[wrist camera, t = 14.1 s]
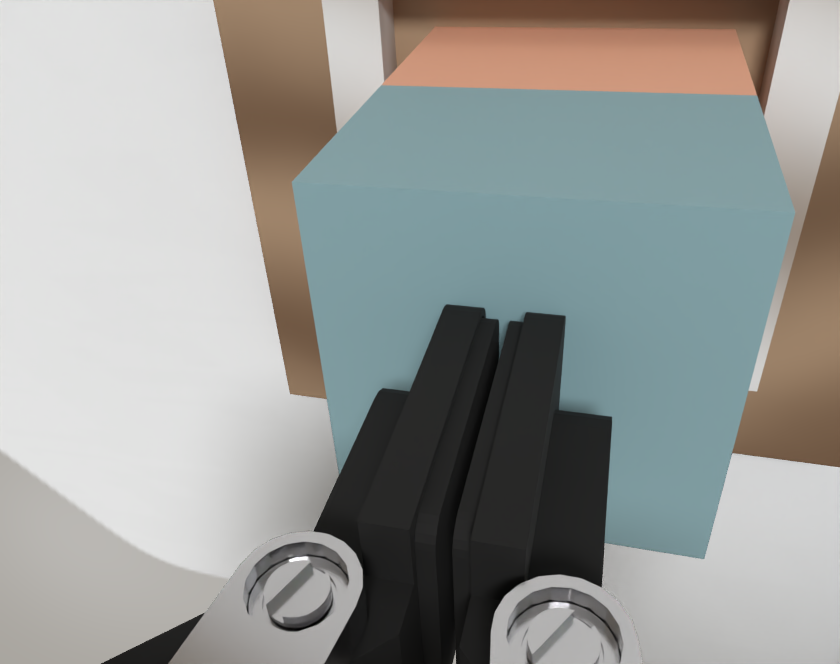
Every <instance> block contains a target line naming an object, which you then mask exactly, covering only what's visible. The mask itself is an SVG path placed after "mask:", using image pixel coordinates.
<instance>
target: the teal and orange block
mask: <svg viewBox="0 0 840 664" xmlns="http://www.w3.org/2000/svg"><path fill="white" fill-rule="evenodd" d="M292 187H293V193H294V199H295V205H296V212H297V218H298V224H299V230H300V236H301V242H302V248H303V255H304V261H305V267H306V273H307V279H308V285H309V292H310V298H311V304H312V310H313V316H314V322H315V328H316V335H317V341H318V347H319V353H320V359H321V365H322V372H323V378H324V384H325V390H326V396H327V402H328V408H329V415H330V421H331V427H332V433H333V439H334V445H335V451H336V458H337V464H338V470H339V475H340V472H341V470H342V468H343V466H344V464H345V461H346V459H347V457H348V455H349V453H350V451H351V448H352V446H353V444H354V442H355V440H356V437H357V435H358V433H359V431H360V429H361V427H362V424H363V422H364V420H365V418H366V416H367V413H368V411H369V409H370V407H371V405H372V403H373V400H374V398H375V396H376V395H377V393H378V391H379V390H381V389H382V388H387V389H395V390H403V391H410V389H411V387H412V384H413V382H414V379H415V377H416V374H417V372H418V370H419V367H420V365H421V362H422V360H423V357H424V355H425V352H426V350H427V347H428V345H429V342H430V340H431V337H432V335H433V332H434V330H435V328H436V325H437V323H438V320H439V318H440V315H441V313H442V310H443V308H444V306H445V305H446V304H450V305H460V306H471V307H481V308H484V309H485V311H486V318H488V319H498V320H499V358H500V354H501V350H502V346H503V343H504V339H505V335H506V332H507V328H508V324H509V322H510V321H519V322H523V321H524V317H525V314H526V312H533V313H543V314H554V315H564V316H566V324H565V337H564V350H563V363H562V376H561V389H560V402H559V410H563V411H571V412H579V413H587V414H595V415H603V416H611V417H612V433H611V449H610V464H609V480H608V496H607V511H606V527H605V542H604V543H609V544H615V545H621V546H627V547H633V548H639V549H645V550H651V551H657V552H664V553H670V554H676V555H682V556H688V557H694V558H700V559H704V558H705V554H706V550H707V546H708V542H709V539H710V535H711V531H712V527H713V523H714V520H715V516H716V512H717V508H718V504H719V501H720V497H721V493H722V489H723V486H724V482H725V478H726V474H727V470H728V467H729V463H730V459H731V455H732V451H733V448H734V444H735V440H736V436H737V432H738V429H739V425H740V421H741V417H742V413H743V410H744V406H745V402H746V398H747V394H748V391H749V387H750V383H751V379H752V375H753V372H754V368H755V364H756V360H757V356H758V353H759V349H760V345H761V341H762V337H763V334H764V330H765V326H766V322H767V318H768V315H769V311H770V307H771V303H772V299H773V296H774V292H775V288H776V284H777V280H778V277H779V273H780V269H781V265H782V261H783V258H784V254H785V250H786V246H787V242H788V239H789V235H790V231H791V227H792V223H793V220H794V216H795V210H794V207H793V204H792V200H791V197H790V194H789V191H788V188H787V185H786V182H785V179H784V176H783V173H782V170H781V167H780V164H779V161H778V158H777V155H776V152H775V149H774V145H773V142H772V139H771V136H770V133H769V130H768V127H767V124H766V121H765V118H764V115H763V112H762V109H761V106H760V103H759V100H758V97H757V94H756V90H755V87H754V84H753V81H752V78H751V75H750V72H749V69H748V66H747V63H746V60H745V57H744V54H743V51H742V48H741V45H740V42H739V39H738V36H737V32H736V29H672V28H549V27H434V29H433V30H432V31H431V32H430V33H429V34H428V35H427V36H426V37H425V38H424V39H423V40H422V42H421V43H420V44H419V45H418V46H417V47H416V48H415V49H414V50H413V51H412V52H411V53H410V55H409V56H408V57H407V58H406V59H405V60H404V61H403V62H402V63H401V64H400V65H399V66H398V67H397V69H396V70H395V71H394V72H393V73H392V74H391V75H390V76H389V77H388V78H387V79H386V80H385V82H384V83H383V84H382V85H381V86H380V87H379V88H378V89H377V90H376V91H375V92H374V93H373V95H372V96H371V97H370V98H369V99H368V100H367V101H366V102H365V103H364V104H363V105H362V106H361V108H360V109H359V110H358V111H357V112H356V113H355V114H354V115H353V116H352V117H351V118H350V119H349V121H348V122H347V123H346V124H345V125H344V126H343V127H342V128H341V129H340V130H339V131H338V132H337V133H336V135H335V136H334V137H333V138H332V139H331V140H330V141H329V142H328V143H327V144H326V145H325V146H324V148H323V149H322V150H321V151H320V152H319V153H318V154H317V155H316V156H315V157H314V158H313V159H312V161H311V162H310V163H309V164H308V165H307V166H306V167H305V168H304V169H303V170H302V171H301V172H300V174H299V175H298V176H297V177H296V178H295V179H294V180H293V181H292Z"/></svg>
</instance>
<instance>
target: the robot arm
mask: <svg viewBox="0 0 840 664" xmlns="http://www.w3.org/2000/svg"><path fill="white" fill-rule="evenodd" d="M565 324H566V316H564V315H554V314H543V313H533V312H526V314H525V317H524V321H523V322H519V321H510V322H509V324H508V328H507V332H506V335H505V339H504V343H503V346H502V350H501V354H500V358H499V320H498V319H488V318H486V311H485V309H484V308H481V307H471V306H460V305H450V304H446V305H445V306H444V308H443V310H442V313H441V315H440V318H439V320H438V323H437V325H436V328H435V330H434V332H433V335H432V337H431V340H430V342H429V345H428V347H427V350H426V352H425V355H424V357H423V360H422V362H421V365H420V367H419V370H418V372H417V374H416V377H415V379H414V382H413V384H412V387H411V389H410V391H403V390H395V389H387V388H382V389H381V390H379V391H378V393H377V395H376V396H375V398H374V400H373V403H372V405H371V407H370V409H369V411H368V413H367V416H366V418H365V420H364V422H363V424H362V427H361V429H360V431H359V433H358V435H357V437H356V440H355V442H354V444H353V446H352V448H351V451H350V453H349V455H348V457H347V459H346V461H345V464H344V466H343V468H342V470H341V472H340V475H339V477H338V479H337V481H336V483H335V485H334V488H333V490H332V492H331V494H330V496H329V499H328V501H327V503H326V505H325V507H324V509H323V512H322V514H321V516H320V518H319V520H318V523H317V525H316V527H315V529H314V531H304V532H293V533H288V534H285V535H282V536H279V537H276V538H273V539H271V540H269V541H268V542H266V543H264V544H263V545H261V546H260V547H258V548H256V549H255V550H254V551H253V552H252V553H251V554H250V555H249V556H248V557H247V558H246V559H245V560H244V561H243V562H242V563H241V564H240V565H239V567H238V568H237V570H236V571H235V572H234V574H233V575H232V576H231V578H230V579H229V581H228V582H227V583H226V585H225V586H224V587H223V589H222V590H221V592H220V593H219V594H218V596H217V597H216V599H215V600H214V601H213V603H212V604H211V605H210V607H209V608H208V610H207V611H206V612H205V613H203V614H201V615H199V616H197V617H195V618H193V619H191V620H189V621H187V622H185V623H183V624H181V625H179V626H177V627H175V628H173V629H171V630H169V631H167V632H164V633H162V634H160V635H159V636H156V637H154V638H152V639H150V640H148V641H146V642H144V643H142V644H140V645H138V646H136V647H134V648H132V649H130V650H128V651H126V652H124V653H122V654H120V655H118V656H116V657H114V658H112V659H110V660H108V661H106V662H104V663H101V664H452V663H453V659H454V655H455V650H456V664H643V663H642V656H641V650H640V643H639V639H638V636H637V633H636V630H635V627H634V624H633V621H632V619H631V617H630V616H629V615H628V613H627V612H626V610H625V609H624V608H623V606H622V605H621V603H620V602H619V601H618V600H616V599H615V598H614V597H613V596H612V595H610V594H609V593H608V592H607V591H605V590H604V589H603V588H602V573H603V558H604V542H605V527H606V511H607V496H608V480H609V464H610V449H611V433H612V417H611V416H603V415H595V414H587V413H579V412H571V411H563V410H559V402H560V389H561V376H562V363H563V350H564V337H565Z"/></svg>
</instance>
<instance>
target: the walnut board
mask: <svg viewBox="0 0 840 664" xmlns="http://www.w3.org/2000/svg"><path fill="white" fill-rule="evenodd" d="M213 1H214V7H215V12H216V17H217V22H218V27H219V32H220V37H221V42H222V47H223V53H224V58H225V63H226V68H227V73H228V78H229V83H230V88H231V94H232V99H233V104H234V109H235V114H236V119H237V124H238V129H239V134H240V140H241V145H242V150H243V155H244V160H245V165H246V170H247V175H248V181H249V186H250V191H251V196H252V201H253V206H254V211H255V216H256V222H257V227H258V232H259V237H260V242H261V247H262V252H263V257H264V262H265V268H266V273H267V278H268V283H269V288H270V293H271V298H272V303H273V309H274V314H275V319H276V324H277V329H278V334H279V339H280V344H281V349H282V355H283V360H284V365H285V370H286V375H287V380H288V385H289V390H290V394H294V395H302V396H309V397H317V398H324V399H327V396H326V390H325V384H324V378H323V372H322V365H321V359H320V353H319V347H318V341H317V335H316V328H315V322H314V316H313V310H312V304H311V298H310V292H309V285H308V279H307V273H306V267H305V261H304V255H303V248H302V242H301V236H300V230H299V224H298V218H297V212H296V205H295V199H294V193H293V187H292V181H293V180H294V179H295V178H296V177H297V176H298V175H299V174H300V172H301V171H302V170H303V169H304V168H305V167H306V166H307V165H308V164H309V163H310V162H311V161H312V159H313V158H314V157H315V156H316V155H317V154H318V153H319V152H320V151H321V150H322V149H323V148H324V146H325V145H326V144H327V143H328V142H329V141H330V140H331V139H332V138H333V137H334V136H335V135H336V133H337V132H338V131H339V130H340V129H341V128H342V127H343V126H344V125H345V124H346V123H347V122H348V121H349V119H350V118H351V117H352V116H353V115H354V114H355V113H356V112H357V111H358V110H359V109H360V108H361V106H362V105H363V104H364V103H365V102H366V101H367V100H368V99H369V98H370V97H371V96H372V95H373V93H374V92H375V91H376V90H377V89H378V88H379V87H380V86H381V85H382V84H383V83H384V82H385V80H386V79H387V78H388V77H389V76H390V75H391V74H392V73H393V72H394V71H395V70H396V69H397V67H398V66H399V65H400V64H401V63H402V62H403V61H404V60H405V59H406V58H407V57H408V56H409V55H410V53H411V52H412V51H413V50H414V49H415V48H416V47H417V46H418V45H419V44H420V43H421V42H422V40H423V39H424V38H425V37H426V36H427V35H428V34H429V33H430V32H431V31H432V30H433V29H434V27H549V28H672V29H736V32H737V36H738V39H739V42H740V45H741V48H742V51H743V54H744V57H745V60H746V63H747V66H748V69H749V72H750V75H751V78H752V81H753V84H754V87H755V90H756V94H757V97H758V100H759V103H760V106H761V109H762V112H763V115H764V118H765V121H766V124H767V127H768V130H769V133H770V136H771V139H772V142H773V145H774V149H775V152H776V155H777V158H778V161H779V164H780V167H781V170H782V173H783V176H784V179H785V182H786V185H787V188H788V191H789V194H790V197H791V200H792V204H793V207H794V210H795V216H794V220H793V223H792V227H791V231H790V235H789V239H788V242H787V246H786V250H785V254H784V258H783V261H782V265H781V269H780V273H779V277H778V280H777V284H776V288H775V292H774V296H773V299H772V303H771V307H770V311H769V315H768V318H767V322H766V326H765V330H764V334H763V337H762V341H761V345H760V349H759V353H758V356H757V360H756V364H755V368H754V372H753V375H752V379H751V383H750V387H749V391H748V394H747V398H746V402H745V406H744V410H743V413H742V417H741V421H740V425H739V429H738V432H737V436H736V440H735V444H734V448H733V451H732V453H737V454H745V455H752V456H760V457H767V458H775V459H782V460H790V461H797V462H805V463H812V464H820V465H827V466H835V467H840V0H213Z"/></svg>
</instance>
